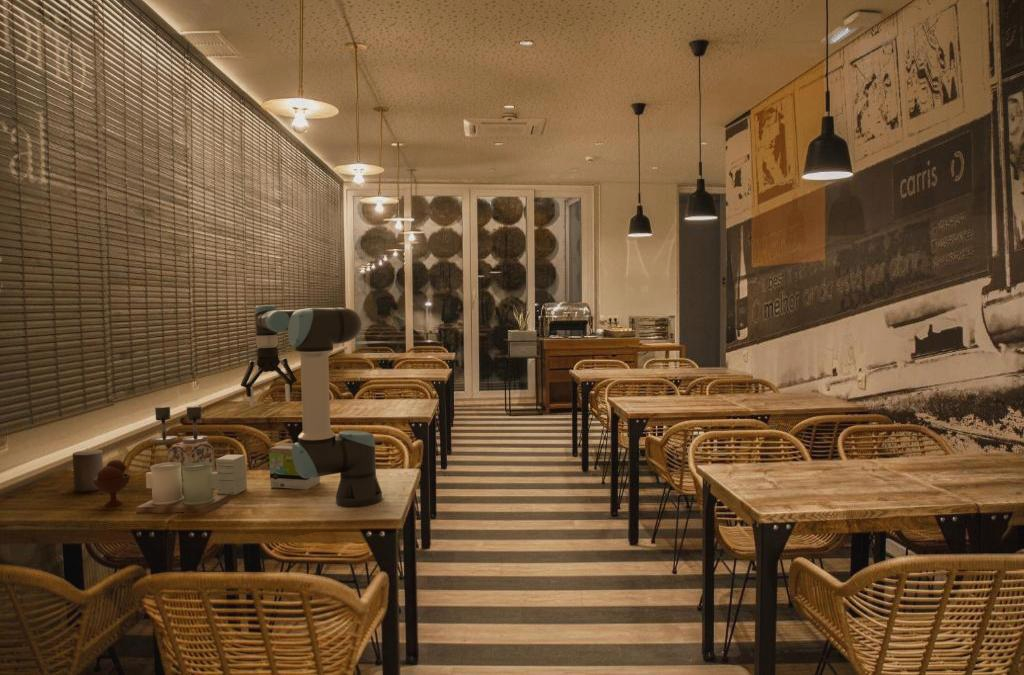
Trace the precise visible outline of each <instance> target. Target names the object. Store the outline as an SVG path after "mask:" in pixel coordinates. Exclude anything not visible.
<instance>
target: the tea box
mask: <svg viewBox="0 0 1024 675" xmlns="http://www.w3.org/2000/svg"><path fill="white" fill-rule="evenodd" d="M293 444H295V442H294V443H290V442H289V443H288V442H287V443H286V442H283V443H280V444H277V445H275V446H273V447H270V448H268V459H269V482H270V483H269V484H270V488H280V489H282V488H283V489H294V490H304V491H305V490H309V489H311V488H313V487H315V486H317V485H318V484H320V483H321V476H320V477H317V478H314V477H313V478H303V477H301V476H300V475H299V474H298V472H297V470H296V468H295V466H294V463H293V459H292V446H293Z"/></svg>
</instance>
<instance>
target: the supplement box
mask: <svg viewBox="0 0 1024 675" xmlns="http://www.w3.org/2000/svg"><path fill="white" fill-rule="evenodd" d="M246 462H247V461H246V455H245V454H225V455H223V456H221V457H218V458H216V459H215V465H216V466H215V470H216V472H218V479H219V487H218V488H217V494H218V495H232V496H233V495H236V496H237V495H238V494H239V493H242V492H244V491H246V490H247V489H248V484H247V465H246Z"/></svg>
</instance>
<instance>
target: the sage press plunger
mask: <svg viewBox="0 0 1024 675" xmlns="http://www.w3.org/2000/svg"><path fill="white" fill-rule="evenodd" d="M202 418H203V417H202V406H201V405H192V406H191V405H190V406H186V420H187V421H192V434H193V435H192V436H193V437H188V436H186V437H187V438H184V437H183V438H184V439H183V438H182V441H181V442H183V443H198V442H204V441H207V442H208V441H209V439H210V438H209V437H210V436H208V435H198V420H202Z"/></svg>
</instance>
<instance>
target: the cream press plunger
mask: <svg viewBox="0 0 1024 675" xmlns="http://www.w3.org/2000/svg"><path fill="white" fill-rule="evenodd" d="M154 409H155V410H154V411H155V420H156V421H160V423H161V436H157V437H152V438H151V439H150V443H151V444H165V443H173V442H175V441H176V442H177V440H178V439H179V438H178V436H177V435H167V425H166V421H167V420H168V421H169V420H171V419H172V418H171V407H170V406H168V405H163V406H156V407H155V408H154Z"/></svg>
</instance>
